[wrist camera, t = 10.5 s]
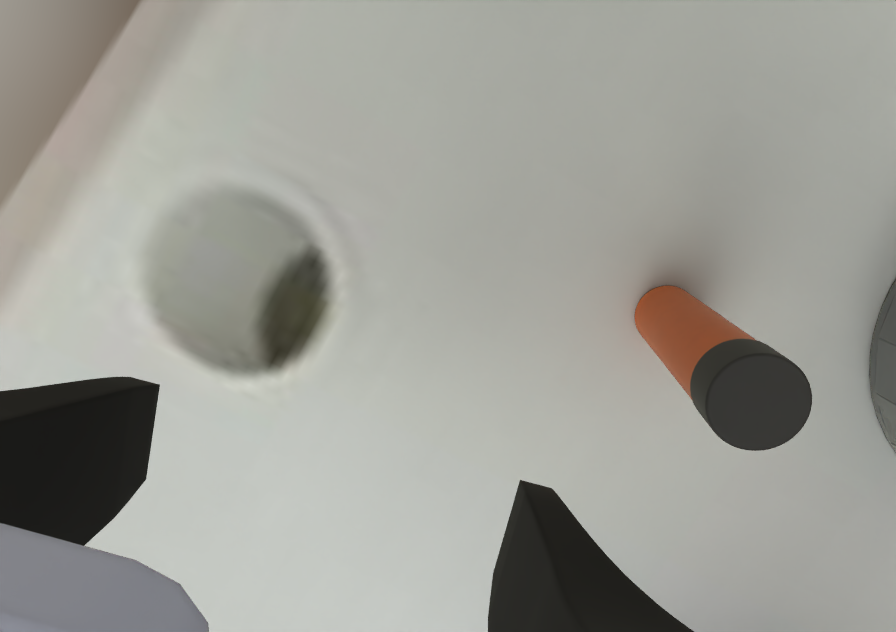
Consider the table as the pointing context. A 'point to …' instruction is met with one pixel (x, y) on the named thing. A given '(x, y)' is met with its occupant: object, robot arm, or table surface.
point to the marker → (725, 370)
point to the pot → (885, 367)
